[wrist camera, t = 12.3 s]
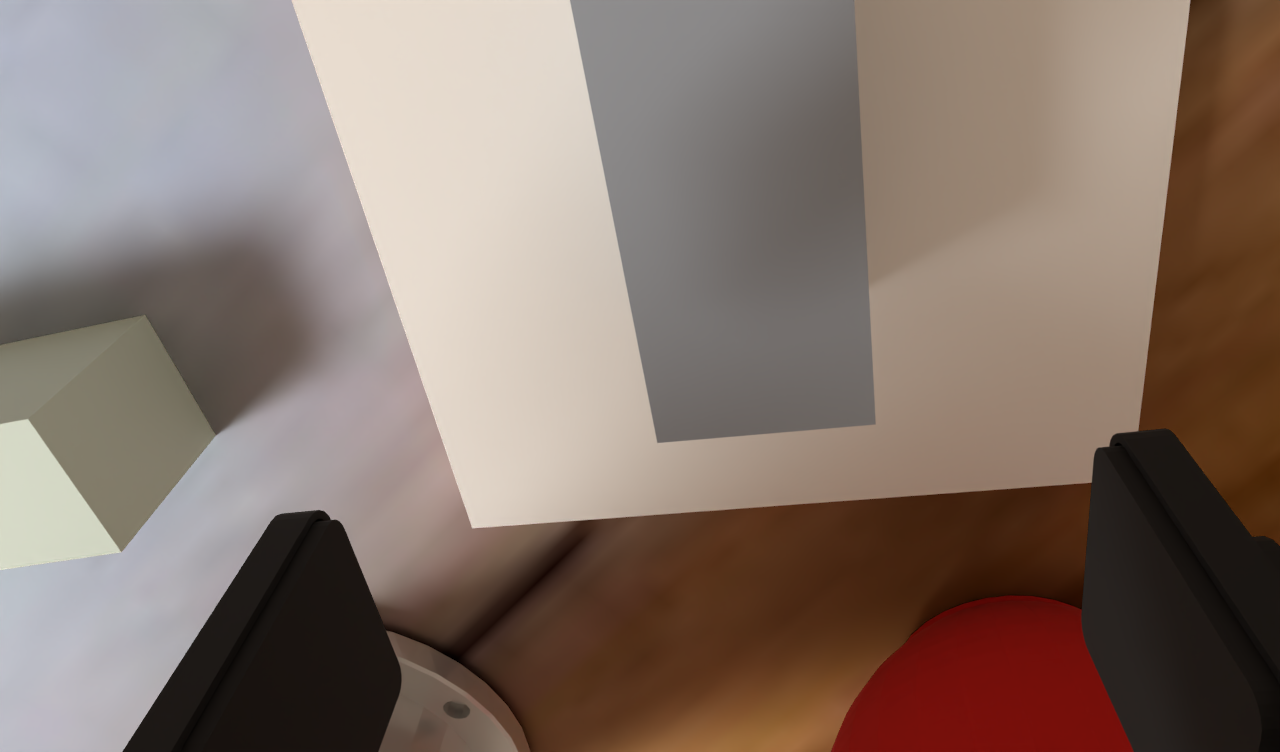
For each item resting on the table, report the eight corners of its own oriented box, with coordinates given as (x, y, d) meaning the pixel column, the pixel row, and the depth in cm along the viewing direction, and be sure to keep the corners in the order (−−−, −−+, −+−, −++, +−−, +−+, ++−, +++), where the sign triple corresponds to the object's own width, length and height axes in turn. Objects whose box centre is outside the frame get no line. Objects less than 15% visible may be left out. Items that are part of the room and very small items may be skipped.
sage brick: (147, 312, 25) (27, 419, 21) (217, 432, 27) (121, 552, 23) (-94, 362, 27) (-250, 470, 23) (-11, 472, 29) (-140, 590, 25)
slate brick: (849, 297, 21) (875, 424, 17) (673, 316, 22) (657, 442, 18) (824, -93, 17) (851, -52, 13) (609, -55, 18) (569, -5, 14)
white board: (1111, 443, 24) (1132, 479, 23) (485, 493, 27) (472, 528, 26) (1198, -379, 16) (1238, -393, 14) (265, -180, 19) (230, -178, 17)
